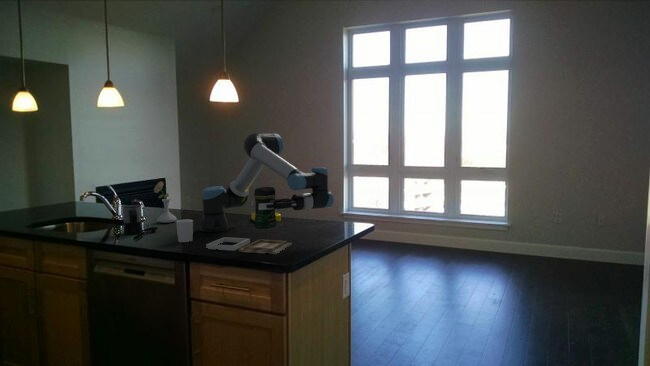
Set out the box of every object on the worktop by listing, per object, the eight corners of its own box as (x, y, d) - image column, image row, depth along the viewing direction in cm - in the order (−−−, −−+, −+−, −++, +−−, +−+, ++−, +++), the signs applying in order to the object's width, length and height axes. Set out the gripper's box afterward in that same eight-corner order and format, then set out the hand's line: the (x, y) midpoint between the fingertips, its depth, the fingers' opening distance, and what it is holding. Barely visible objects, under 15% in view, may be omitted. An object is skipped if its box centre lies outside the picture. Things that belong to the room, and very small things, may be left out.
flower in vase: (169, 220, 293) (167, 179, 291) (181, 221, 286) (179, 180, 284) (150, 223, 282) (148, 181, 280) (162, 225, 276) (160, 182, 273)
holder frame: (206, 248, 216) (206, 244, 216) (223, 241, 231) (223, 237, 231) (233, 250, 212) (233, 246, 212) (250, 242, 227) (249, 238, 227)
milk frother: (120, 233, 254) (119, 205, 252) (148, 229, 265) (147, 202, 263) (132, 237, 244) (131, 208, 242) (161, 232, 255) (160, 205, 254)
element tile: (250, 219, 294) (250, 212, 293) (274, 217, 300) (274, 210, 299) (257, 223, 280) (257, 215, 279) (281, 221, 286) (281, 213, 285)
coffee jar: (265, 230, 208) (264, 188, 207) (252, 228, 213) (250, 187, 211) (279, 226, 216) (278, 186, 215) (266, 225, 221) (265, 185, 219)
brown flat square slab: (238, 251, 210) (238, 247, 210) (256, 242, 227) (256, 238, 227) (276, 254, 205) (276, 249, 204) (291, 245, 222) (291, 240, 221)
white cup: (184, 243, 228) (183, 222, 227) (173, 241, 232) (172, 221, 231) (197, 240, 234) (196, 220, 233) (186, 238, 239) (185, 218, 238)
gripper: (311, 212, 213) (263, 217, 202) (292, 207, 232) (248, 211, 221) (311, 196, 212) (263, 199, 202) (292, 191, 231) (247, 195, 221)
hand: (255, 205), depth 212 cm, fingers closed on coffee jar, 9 cm apart
